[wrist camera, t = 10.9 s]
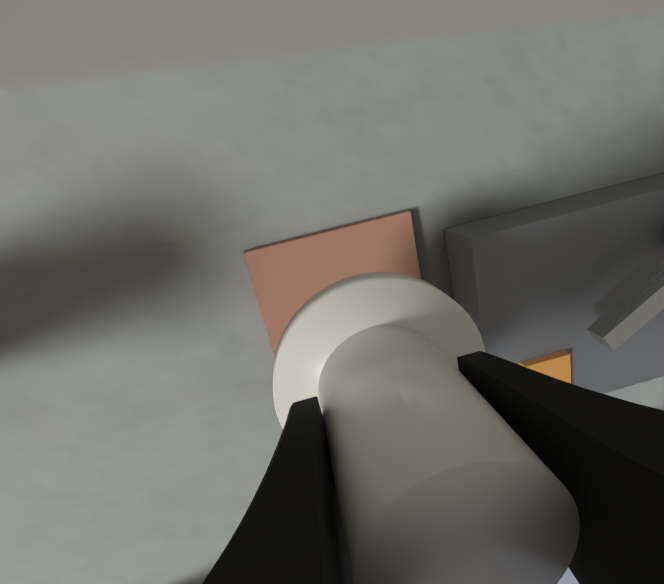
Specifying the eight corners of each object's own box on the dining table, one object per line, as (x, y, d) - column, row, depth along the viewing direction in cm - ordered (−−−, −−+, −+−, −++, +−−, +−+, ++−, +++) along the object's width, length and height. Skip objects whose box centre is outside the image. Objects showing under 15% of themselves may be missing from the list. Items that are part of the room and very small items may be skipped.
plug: (487, 414, 12) (657, 611, 7) (312, 479, 12) (342, 735, 7) (448, 241, 11) (641, 320, 5) (240, 315, 10) (198, 483, 5)
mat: (429, 354, 18) (434, 359, 18) (287, 393, 18) (288, 399, 18) (406, 210, 16) (410, 211, 16) (244, 250, 16) (243, 253, 15)
